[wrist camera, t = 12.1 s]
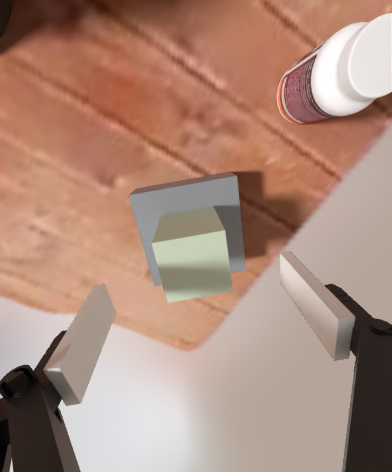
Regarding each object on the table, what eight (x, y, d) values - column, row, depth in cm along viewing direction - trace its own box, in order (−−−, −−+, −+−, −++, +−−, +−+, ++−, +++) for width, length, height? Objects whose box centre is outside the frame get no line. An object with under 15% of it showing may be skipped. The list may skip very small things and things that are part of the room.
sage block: (161, 214, 25) (151, 243, 18) (213, 205, 25) (225, 230, 18) (172, 260, 28) (167, 302, 20) (219, 252, 27) (232, 291, 20)
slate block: (135, 188, 28) (128, 195, 24) (230, 171, 28) (237, 175, 24) (157, 270, 33) (154, 286, 29) (239, 256, 32) (246, 270, 29)
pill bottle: (306, 135, 27) (382, 128, 16) (264, 107, 25) (318, 80, 15) (340, 80, 25) (450, 35, 15) (297, 47, 23) (384, -29, 13)
